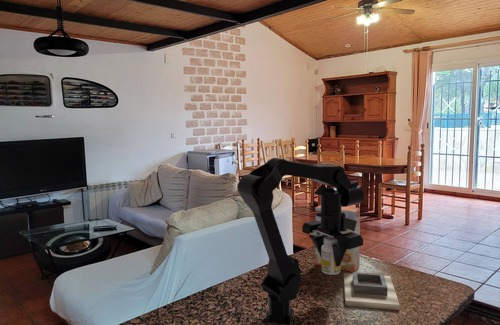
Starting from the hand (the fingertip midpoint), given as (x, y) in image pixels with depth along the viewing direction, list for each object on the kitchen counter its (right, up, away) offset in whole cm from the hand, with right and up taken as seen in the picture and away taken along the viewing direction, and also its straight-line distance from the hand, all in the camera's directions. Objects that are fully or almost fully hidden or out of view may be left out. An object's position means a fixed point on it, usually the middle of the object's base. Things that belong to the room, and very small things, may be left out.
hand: (330, 262), depth 106 cm
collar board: (+12, -10, +4) cm, 16 cm away
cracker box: (+7, -8, +23) cm, 25 cm away
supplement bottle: (0, -3, 0) cm, 3 cm away
